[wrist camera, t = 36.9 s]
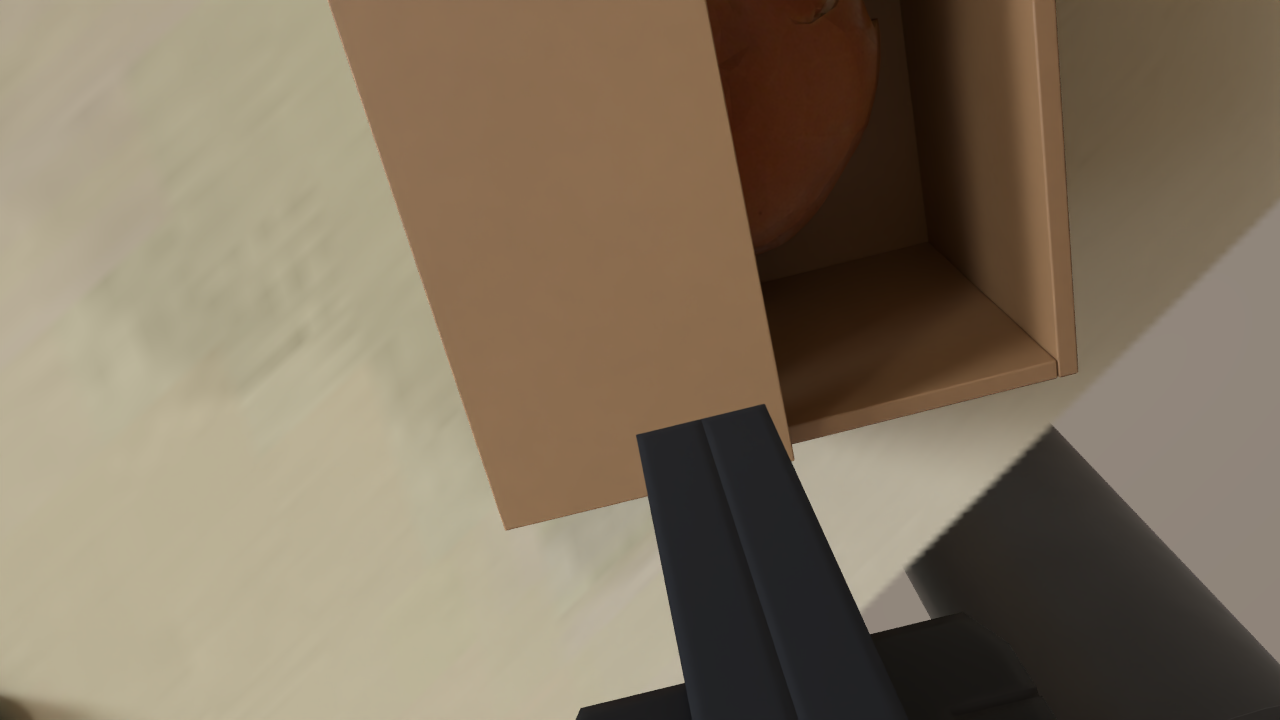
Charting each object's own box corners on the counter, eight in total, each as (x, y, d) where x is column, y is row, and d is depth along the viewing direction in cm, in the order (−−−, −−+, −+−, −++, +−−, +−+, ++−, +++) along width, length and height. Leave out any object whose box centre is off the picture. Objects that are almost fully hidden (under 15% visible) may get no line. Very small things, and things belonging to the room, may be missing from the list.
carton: (939, 246, 34) (1079, 373, 26) (507, 354, 35) (503, 517, 26) (882, -250, 29) (1038, -300, 20) (360, -119, 29) (292, -112, 20)
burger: (566, 276, 33) (574, 335, 29) (455, -38, 29) (446, -22, 25) (880, 174, 33) (934, 219, 29) (810, -155, 29) (861, -160, 25)
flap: (792, 455, 25) (794, 460, 25) (505, 524, 26) (505, 531, 25) (665, -203, 20) (667, -204, 19) (294, -110, 20) (290, -109, 19)
